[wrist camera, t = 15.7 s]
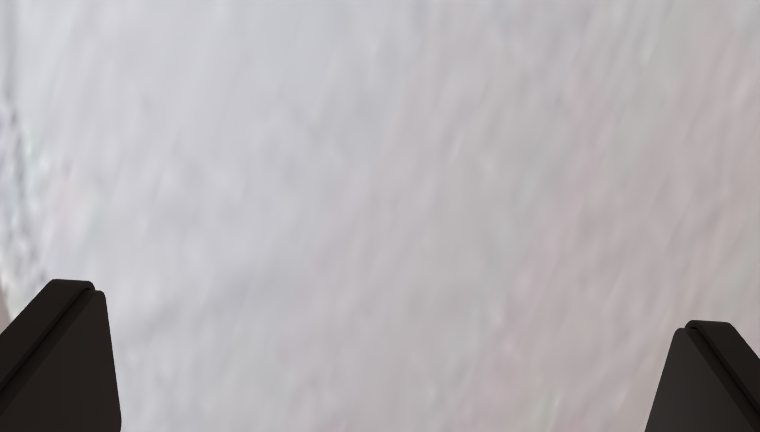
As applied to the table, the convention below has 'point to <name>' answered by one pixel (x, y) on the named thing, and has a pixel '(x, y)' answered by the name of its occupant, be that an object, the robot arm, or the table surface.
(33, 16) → the table surface
